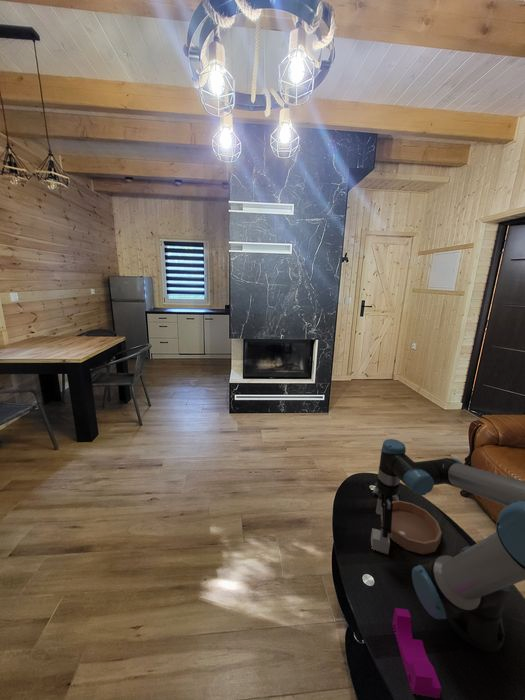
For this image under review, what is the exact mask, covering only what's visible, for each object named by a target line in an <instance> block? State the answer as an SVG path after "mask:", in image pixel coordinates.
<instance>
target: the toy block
mask: <svg viewBox="0 0 525 700" xmlns="http://www.w3.org/2000/svg"><path fill="white" fill-rule="evenodd" d="M391 625H393V626H392V628H394V629H393V632H394V631H396V632H394V635H396V636H395V639H396V638H397V639H396V642H398V643H397V645H398V648H399V649H398V650H399V653H400V656H401V659H402V662H403V666H404V670H405V673H406V676H407V680H408V683H409V687H410V686H411V687H410V690H411V689H412V690H411V692H412V691H413V693H418V694H423V695H428V696H433V697H437V698H439V699H440V698H441V694H442V686H441V684H440V681H439V678H438V675H437V672H436V670H435V667H434V666H433V665H432V663H431V661H430V660H429V658H428V655H427V653H426V650H425V647H424V646H425V645H424V642H423V640H421V639H414V638H413V633H412V616H411V614H410V611H409V609H406V608H399V607H394V613H393V617H392V623H391Z"/></svg>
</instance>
